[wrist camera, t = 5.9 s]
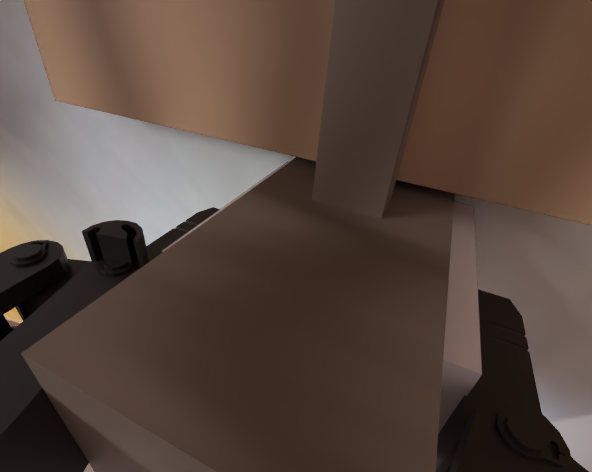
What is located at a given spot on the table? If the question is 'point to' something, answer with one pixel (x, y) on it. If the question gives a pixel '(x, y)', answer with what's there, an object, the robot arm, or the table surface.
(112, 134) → the table surface
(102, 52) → the board
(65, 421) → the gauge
